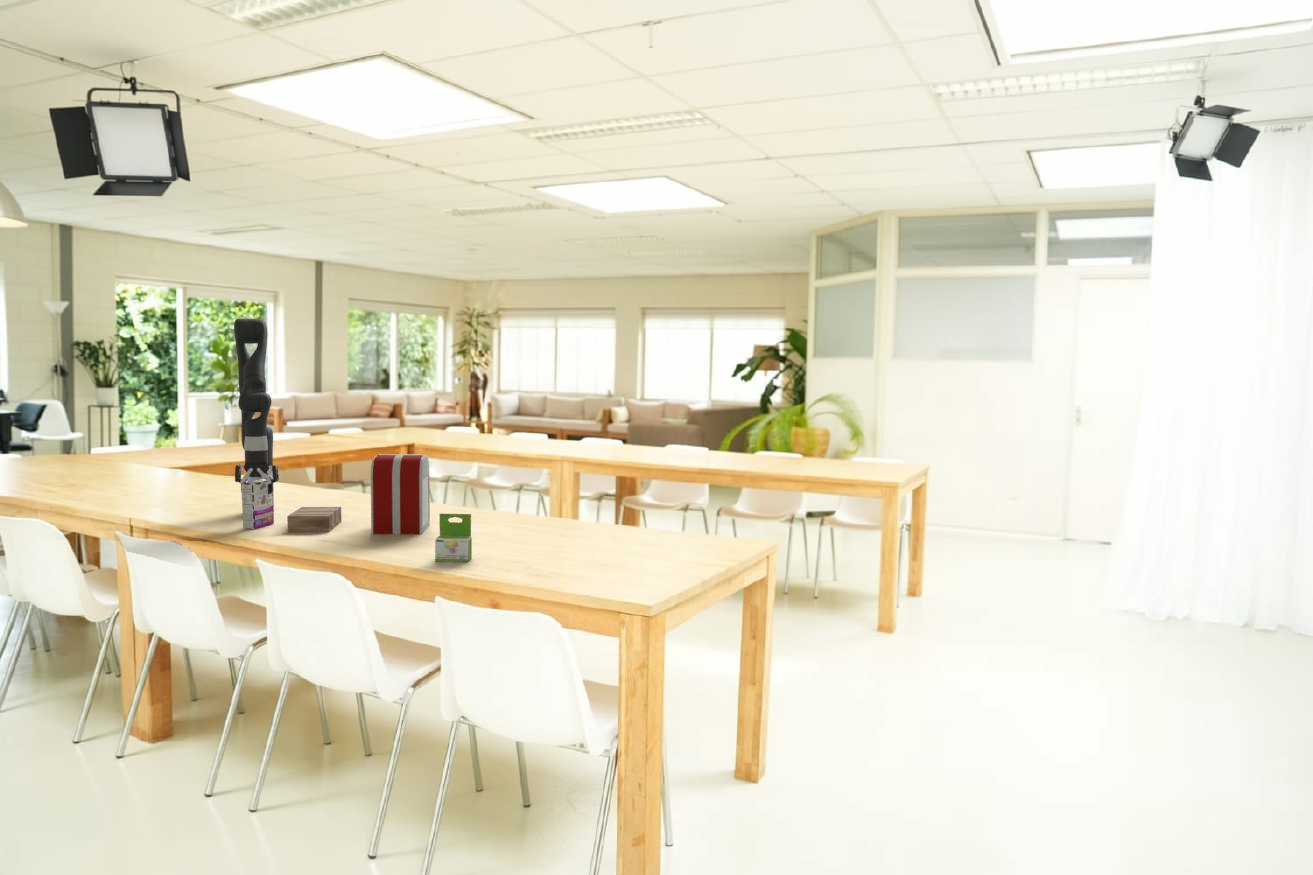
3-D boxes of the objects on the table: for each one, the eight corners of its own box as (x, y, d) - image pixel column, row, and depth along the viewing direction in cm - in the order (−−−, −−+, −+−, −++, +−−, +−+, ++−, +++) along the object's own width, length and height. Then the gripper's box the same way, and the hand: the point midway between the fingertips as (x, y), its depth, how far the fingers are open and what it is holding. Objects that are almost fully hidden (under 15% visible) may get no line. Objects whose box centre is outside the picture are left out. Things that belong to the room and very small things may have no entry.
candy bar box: (262, 523, 317) (261, 478, 315) (274, 523, 316) (273, 479, 314) (241, 529, 306) (240, 482, 304) (254, 529, 305) (253, 483, 303)
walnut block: (302, 523, 320) (301, 507, 319) (341, 522, 322) (341, 506, 321) (287, 533, 302) (287, 516, 302) (329, 532, 304) (329, 515, 303)
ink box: (434, 561, 265) (434, 516, 263) (438, 557, 270) (438, 513, 269) (468, 562, 265) (468, 517, 263) (472, 558, 270) (471, 513, 269)
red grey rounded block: (381, 524, 318) (380, 451, 315) (430, 524, 319) (429, 452, 317) (370, 534, 301) (369, 457, 299) (422, 534, 303) (421, 457, 300)
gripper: (280, 447, 313) (281, 492, 314) (239, 447, 311) (240, 492, 312) (273, 449, 305) (274, 495, 307) (231, 449, 304) (232, 495, 305)
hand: (257, 493), depth 310 cm, fingers open, 8 cm apart
